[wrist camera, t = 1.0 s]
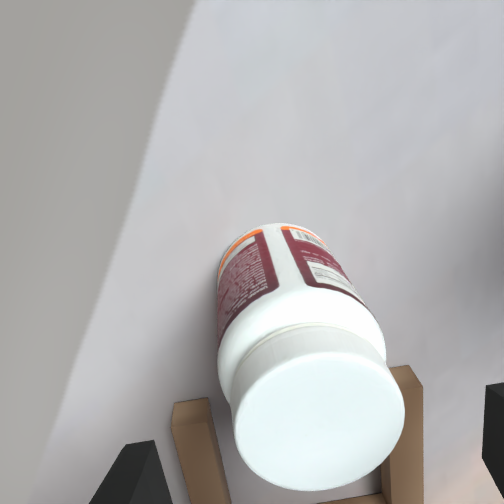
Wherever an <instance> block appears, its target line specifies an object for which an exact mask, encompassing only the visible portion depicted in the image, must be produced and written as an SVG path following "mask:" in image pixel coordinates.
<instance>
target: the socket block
mask: <svg viewBox="0 0 504 504" xmlns="http://www.w3.org/2000/svg"><path fill="white" fill-rule="evenodd" d="M388 369H389V370H390V372H391V374H392V376H393V377H394V379H395V381H396V383H397V385H398V387H399V389H400V391H401V394H402V396H403V401H404V408H405V417H404V426H403V429H402V432H401V435H400V437H399V440H398V442H397V443H396V445H395V447H394V449H393V450H392V451H391V453H390V454H389V455H388V456H387V458H386V459H385V460H384V461H383V462H382V463H381V464H380V467H381V486H382V493H379V494H373V495H367V496H361V497H355V498H349V499H343V500H337V501H331V502H325V503H319V504H424V483H423V386H422V384H421V383H420V381H419V380H418V378H417V377H416V375H415V374H414V372H413V371H412V369H411V368H410V366H409V365H406V366H400V367H394V368H388ZM171 430H172V434H173V438H174V442H175V445H176V449H177V453H178V456H179V460H180V464H181V468H182V471H183V475H184V479H185V482H186V486H187V490H188V493H189V497H190V501H191V504H232V503H231V499H230V494H229V490H228V485H227V481H226V476H225V472H224V468H223V463H222V459H221V454H220V450H219V445H218V441H217V436H216V432H215V427H214V423H213V418H212V414H211V409H210V405H209V401H208V398H202V399H196V400H190V401H184V402H178V403H174V408H173V415H172V422H171Z"/></svg>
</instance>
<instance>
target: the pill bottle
mask: <svg viewBox="0 0 504 504" xmlns="http://www.w3.org/2000/svg"><path fill="white" fill-rule="evenodd" d="M217 300H218V305H217V307H218V312H217V318H218V324H217V327H218V330H217V339H218V348H217V352H218V354H217V366H218V376H219V381H220V385H221V388H222V391H223V393H224V395H225V398H226V400H227V401H228V403H229V404H230V407H231V412H232V424H233V435H234V439H235V444H236V447H237V449H238V452H239V454H240V456H241V457H242V459H243V460H244V462H245V463H246V465H247V466H248V467H249V468H250V469H251V470H252V471H253V472H254V473H255V474H257V475H258V476H259V477H261V478H262V479H264V480H266V481H267V482H270V483H272V484H274V485H277V486H280V487H283V488H286V489H291V490H298V491H321V490H328V489H332V488H336V487H340V486H343V485H346V484H349V483H351V482H354V481H356V480H358V479H360V478H362V477H363V476H365V475H367V474H368V473H370V472H371V471H373V470H374V469H375V468H376V467H377V466H379V465H380V464H381V463H382V462H383V461H384V460H385V459H386V458H387V456H388V455H389V454H390V453H391V451H392V450H393V449H394V447H395V445H396V443H397V442H398V440H399V437H400V435H401V432H402V429H403V426H404V417H405V408H404V401H403V396H402V394H401V391H400V389H399V387H398V385H397V383H396V381H395V379H394V377H393V376H392V374H391V372H390V370H389V369H388V367H387V365H386V348H385V342H384V337H383V334H382V331H381V329H380V327H379V324H378V322H377V320H376V319H375V317H374V316H373V314H372V313H371V312H370V310H369V309H368V307H367V306H366V304H365V303H364V302H363V300H362V299H361V297H360V296H359V294H358V293H357V291H356V290H355V288H354V287H353V285H352V283H351V282H350V281H349V279H348V278H347V276H346V275H345V273H344V272H343V270H342V268H341V266H340V265H339V263H338V262H337V261H336V259H335V257H334V256H333V254H332V253H331V251H330V250H329V248H328V247H327V245H326V244H325V243H324V242H323V241H322V240H321V239H320V238H319V237H318V236H317V235H316V234H314V233H313V232H311V231H309V230H308V229H305V228H303V227H301V226H297V225H293V224H287V223H274V224H265V225H262V226H258V227H255V228H253V229H251V230H249V231H248V232H246V233H244V234H243V235H242V236H240V237H239V238H238V239H237V240H236V241H235V242H234V243H233V244H232V245H231V246H230V247H229V249H228V250H227V252H226V253H225V255H224V257H223V259H222V261H221V264H220V267H219V272H218V285H217Z"/></svg>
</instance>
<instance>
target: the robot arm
mask: <svg viewBox="0 0 504 504" xmlns="http://www.w3.org/2000/svg"><path fill="white" fill-rule="evenodd" d="M482 459H483V461H484V463H485V465H486V466H487V468H488V470H489V472H490V474H491V476H492V478H493V480H494V482H495V484H496V486H497V487H498V489H499V491H500V493H501V495H502V497H503V498H504V383H497V384H491V385H486V392H485V410H484V428H483V446H482ZM89 504H173V503H172V500H171V496H170V493H169V489H168V486H167V482H166V479H165V476H164V472H163V469H162V465H161V462H160V459H159V455H158V452H157V448H156V445H155V442H154V440H150V441H144V442H138V443H132V444H126V445H125V446H124V448H123V449H122V450H121V452H120V454H119V455H118V457H117V459H116V460H115V462H114V464H113V465H112V467H111V469H110V470H109V472H108V473H107V475H106V477H105V478H104V480H103V482H102V483H101V485H100V487H99V488H98V490H97V491H96V493H95V495H94V496H93V498H92V499H91V501H90V503H89Z"/></svg>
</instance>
